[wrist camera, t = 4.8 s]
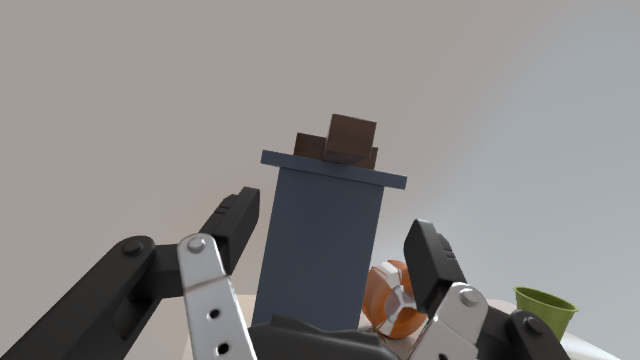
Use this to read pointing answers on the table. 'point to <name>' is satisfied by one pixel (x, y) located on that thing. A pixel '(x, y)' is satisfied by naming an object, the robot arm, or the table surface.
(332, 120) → the paddle
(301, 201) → the blue tapered column stand
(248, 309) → the table surface
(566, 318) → the plant pot
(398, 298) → the coil
